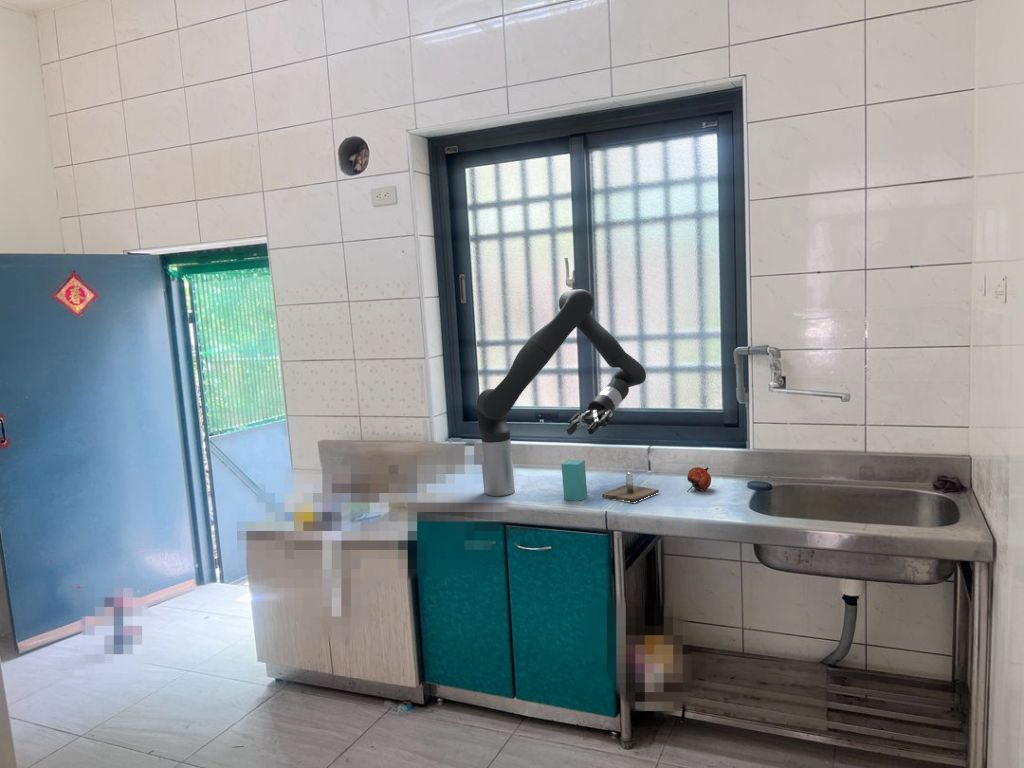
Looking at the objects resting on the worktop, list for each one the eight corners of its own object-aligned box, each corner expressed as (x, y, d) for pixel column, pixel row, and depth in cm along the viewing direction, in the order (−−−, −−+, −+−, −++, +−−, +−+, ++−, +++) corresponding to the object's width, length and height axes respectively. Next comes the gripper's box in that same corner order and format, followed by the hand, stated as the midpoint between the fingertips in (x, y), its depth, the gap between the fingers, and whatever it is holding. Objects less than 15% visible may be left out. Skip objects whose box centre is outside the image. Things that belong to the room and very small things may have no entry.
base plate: (602, 497, 218) (601, 493, 218) (626, 488, 226) (626, 484, 226) (634, 503, 209) (634, 499, 209) (658, 493, 217) (658, 489, 217)
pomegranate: (699, 502, 213) (722, 478, 214) (683, 484, 213) (706, 460, 214) (689, 498, 221) (712, 475, 222) (673, 480, 220) (696, 458, 221)
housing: (564, 499, 219) (561, 463, 218) (570, 494, 224) (568, 459, 223) (580, 500, 217) (578, 464, 215) (587, 495, 221) (584, 460, 220)
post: (625, 492, 218) (624, 472, 217) (629, 490, 219) (628, 471, 218) (630, 493, 216) (629, 473, 215) (634, 491, 217) (633, 471, 217)
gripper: (583, 394, 238) (556, 423, 228) (618, 392, 228) (591, 421, 218) (593, 413, 240) (566, 442, 231) (627, 412, 230) (601, 442, 220)
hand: (578, 432), depth 224 cm, fingers open, 8 cm apart
